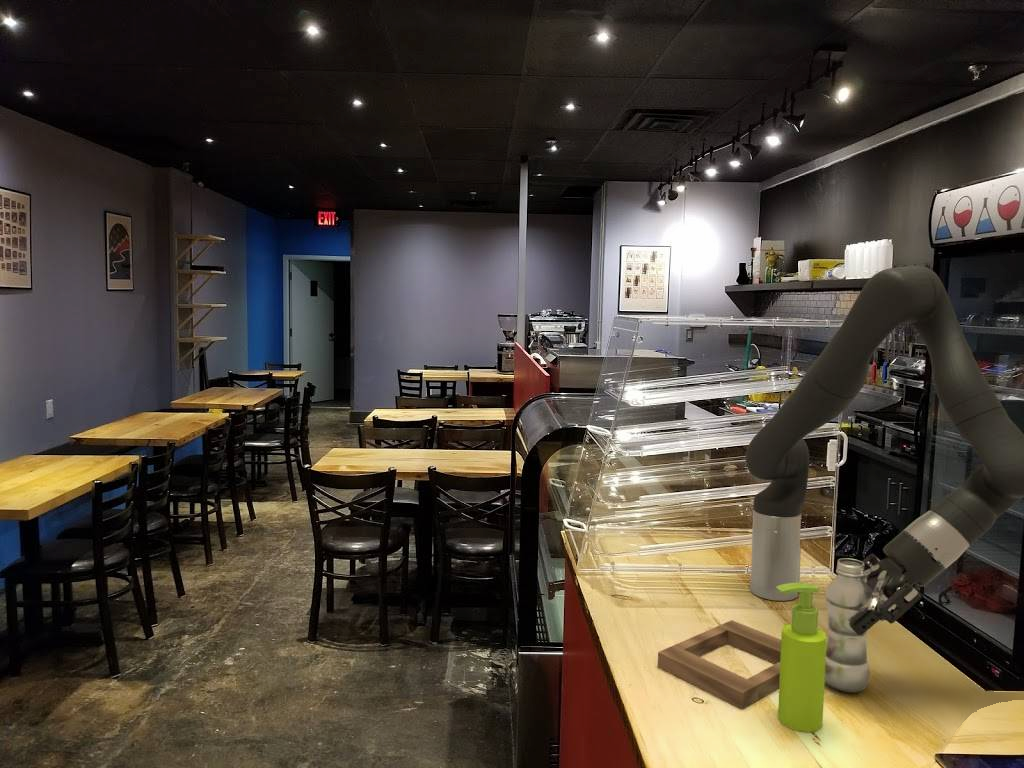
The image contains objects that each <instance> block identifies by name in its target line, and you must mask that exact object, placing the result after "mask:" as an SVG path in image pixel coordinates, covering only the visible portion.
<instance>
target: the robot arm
mask: <svg viewBox="0 0 1024 768" xmlns="http://www.w3.org/2000/svg"><path fill="white" fill-rule="evenodd" d="M949 297H950V296H949V294H948V293H947V290H946V288H945V286H944V284H943V281H941V279H940V277H939V275H938V274H937V273H936V272H935V271H933V270H932V269H930V268H929V267H926V266H923V265H905V266H896V267H891V268H885V269H883V270H880V271H878V272H877V273H875V274H873V275H872V276H871V277H870V278H869V279H868V280H867V282H866V283H865V284H864V285H863V288H862V289H861V291H860V292H859V294H858V295H857V297H856V299H855V301H854V303H853V304H852V306H851V308H850V310H849V312H848V314H846V317H845V319H844V320H843V323H842V324H840V327H839V328H838V330H837V331H836V332H835V334H834V335H833V337H832V338H831V339H830V341H829V342H828V343H827V344H826V346H825V347H824V349H823V350H822V351H821V353H820V354H819V356H818V357H817V358H816V359H815V360H814V362H813V363H812V364H811V366H810V367H809V369H807V371H806V372H805V374H804V376H802V378H801V380H800V381H799V383H798V384H797V386H796V387H795V388H794V390H793V391H792V392H791V394H790V395H789V397H787V399H786V400H785V402H783V404H782V405H781V406H780V407H779V409H778V410H777V412H776V413H775V414H774V415H773V416H772V418H771V419H770V420H769V421H768V422H767V423H766V424H765V425H764V426H763V427H762V428H761V429H760V430H759V431H758V432H757V433H756V434H755V435H754V437H753V438H752V439H751V441H750V442H749V444H748V446H747V449H746V452H745V453H746V454H745V465H746V468H747V470H748V472H749V474H751V475H752V476H753V477H755V478H756V479H759V480H765V481H766V480H767V481H771V482H770V483H769V485H768V486H767V487H766V488H764V489H763V490H762V491H760V492H758V493H757V494H756V495H755V496H754V498H753V506H752V511H753V512H752V531H751V532H752V533H751V534H752V535H751V558H750V559H751V560H750V561H751V562H750V563H751V564H750V579H749V580H750V581H749V582H750V583H749V586H750V587H749V590H750V592H751V593H752V594H753V595H755V596H756V597H759V598H762V599H766V600H771V601H780V602H783V601H784V602H785V601H792V600H794V599H796V598H797V597H798V596H799V592H793V593H788V594H783V593H782V592H781V591H780V590H778V589H777V588H776V586H779V585H783V584H787V583H800V575H801V558H802V557H801V555H802V548H801V546H800V545H801V525H802V524H801V523H802V522H801V521H802V508H803V506H804V503H805V501H806V499H807V489H808V482H809V481H808V480H809V473H810V472H809V471H810V470H809V469H810V451H809V447H808V445H807V443H806V441H805V440H804V438H805V437H806V436H808V435H809V434H811V433H813V432H815V431H816V430H818V429H820V428H822V427H823V426H824V425H826V424H827V423H829V422H831V421H832V420H835V418H837V417H839V415H840V414H842V413H843V412H844V411H845V410H846V409H847V408H848V407H849V406H850V404H851V403H852V401H854V400H855V398H856V397H857V396H858V395H859V394H860V392H861V390H863V387H864V385H865V383H866V382H867V378H868V375H869V368H870V363H871V358H872V357H873V355H874V352H876V350H877V349H878V347H880V345H881V344H882V343H883V342H884V340H886V338H888V336H889V335H890V334H891V333H892V332H893V331H894V330H895V329H897V328H898V327H899V326H901V325H904V324H910V325H911V326H912V327H913V328H914V329H915V331H916V333H917V334H918V335H919V336H920V337H921V340H922V341H923V343H924V345H925V347H926V350H927V352H928V356H929V359H930V363H931V364H930V365H931V371H932V378H933V379H932V380H933V384H934V389H935V392H936V395H937V398H938V401H939V402H940V405H941V406H942V408H943V410H944V411H945V414H946V415H947V416H948V418H949V420H950V422H951V423H952V425H953V426H954V429H955V430H956V432H957V433H958V434H959V436H960V437H961V438H962V439H963V440H964V441H965V442H966V443H969V444H970V445H971V446H972V448H973V449H974V452H975V453H976V454H977V456H978V457H979V459H980V461H981V462H982V464H981V465H980V466H978V468H977V469H975V471H973V473H972V474H971V475H969V476H968V477H967V478H966V480H964V482H962V483H961V485H960V486H959V487H958V488H956V489H954V490H952V491H951V492H950V493H948V494H947V495H946V496H945V497H943V498H942V499H941V500H940V501H939V502H937V503H936V504H935V505H933V507H932V508H931V509H930V510H928V511H926V512H925V513H924V514H922V515H920V516H919V517H918V518H916V519H915V520H914V521H912V522H911V523H910V524H909V525H908V526H907V527H906V528H904V529H903V530H902V531H901V532H900V533H899V534H897V535H896V536H895V537H894V538H893V539H892V540H891V541H889V542H888V543H887V544H886V545H885V546H884V547H883V549H882V551H883V553H884V554H885V556H886V557H884V558H882V559H881V560H880V559H879V558H878V557H877V556H876V555H875V554H874V553H871V554H868V555H867V556H866V557H865V558H863V560H861V561H862V562H863V563H864V572H865V574H864V577H862V579H863V581H864V582H865V584H866V585H867V587H868V588H869V590H870V592H871V595H872V599H873V600H872V602H871V604H870V606H869V609H870V610H869V609H868V608H866V609H865V610H864V611H862V612H861V613H860V614H859V615H858V616H857V617H855V618H854V619H853V620H852V621H851V622H850V623H849V626H850V627H851V628H852V629H853V630H854V631H855V632H856V633H857V634H858V635H862V634H863V633H865V632H866V631H867V632H868V630H870V629H871V628H873V626H874V625H875V624H877V623H878V622H879V621H880V622H885V621H886V622H888V623H889V624H890V625H891V624H894V623H895V622H897V620H898V619H900V618H901V617H902V616H903V615H905V614H906V612H907V611H909V610H910V609H911V608H912V607H913V606H915V604H916V603H918V602H919V600H920V599H921V598H922V595H921V594H920V592H918V590H917V589H915V588H914V584H916V585H917V586H919V587H926V586H927V585H928V584H929V583H931V581H933V580H934V579H936V578H937V577H938V576H939V575H941V574H942V573H943V572H944V571H945V570H946V569H947V568H949V566H951V565H952V564H953V563H954V562H956V561H957V560H958V559H959V558H960V557H961V556H962V555H963V554H964V552H966V550H967V549H968V548H969V547H970V546H971V545H973V544H974V543H975V542H976V541H977V540H979V539H980V538H981V537H982V536H984V535H985V534H986V533H987V532H988V531H989V530H990V529H991V528H992V527H993V526H994V525H995V523H996V521H997V519H998V518H999V517H1000V516H1002V515H1003V513H1005V512H1007V511H1008V510H1009V509H1010V508H1012V506H1014V505H1015V504H1016V503H1018V502H1019V501H1021V500H1022V499H1023V498H1024V432H1022V430H1021V429H1020V427H1018V426H1017V425H1016V424H1015V423H1014V422H1013V420H1012V419H1011V418H1010V417H1009V415H1008V413H1007V411H1006V409H1005V407H1004V406H1003V404H1002V403H1001V401H1000V399H999V398H998V396H997V394H996V393H995V392H994V390H993V388H992V387H991V385H990V383H989V382H988V380H987V378H986V377H985V375H984V374H983V372H982V370H981V368H980V367H979V365H978V362H977V361H976V359H975V357H974V355H973V352H972V350H971V348H970V346H969V344H968V342H967V339H966V336H965V334H964V332H963V330H962V328H961V325H960V322H959V320H958V318H957V315H956V312H955V310H954V308H953V306H952V303H951V300H950V298H949ZM892 610H894V611H893V612H891V611H892Z"/></svg>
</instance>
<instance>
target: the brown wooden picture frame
mask: <svg viewBox="0 0 1024 768" xmlns="http://www.w3.org/2000/svg"><path fill="white" fill-rule="evenodd" d="M725 645H729V646H732V647H733V648H737V649H739V650H741V651H743V652H746V653H748V654H750V655H753V656H755V657H757V658H760V659H761V660H765V662H766V661H767V662H769V663H771V664H773V665H770V666H769V667H767V668H765V669H763V670H762V671H760V672H758V673H756V674H754V675H752V676H750V677H748V678H746V677H743V676H741V675H739V674H737V673H735V672H732V671H730V670H729V669H727V668H724V667H722V666H720V665H719V664H718V665H717V664H715V663H713V662H711V661H709V660H707V659H704V658H703V657H701V656H704V655H706V654H708V653H710V652H712V651H715V650H717V649H718V648H721V647H724V646H725ZM780 659H781V638H778V637H776V636H773V635H770V634H767V633H766V632H763V631H760V630H758V629H755V628H753V627H750V626H747V625H745V624H742V623H740V622H738V621H735V620H733V619H731V620H728V621H727V622H724V623H722V624H719V625H717V626H716V627H713V628H710V629H708V630H706V631H703V632H701V633H699V634H697V635H694V636H691V637H690V638H687V639H685V640H683V641H681V642H678V643H676V644H674V645H671V646H669V647H667V648H664V649H662V650H660V651H658V652H657V668H659V669H661V670H663V671H665V672H667V673H669V674H672V675H673V676H675V675H676V676H675V677H678V678H679V679H681V680H683V681H685V682H687V683H689V684H691V685H693V686H695V687H697V688H699V689H701V690H702V691H703V690H704V691H705V692H707V693H709V694H711V695H712V696H715V697H716V698H719V699H721V700H723V701H726V702H727V703H729V704H731V705H733V706H735V707H736V708H739V709H740V710H744V709H745V708H747V707H750V706H751V705H753V704H754V703H756V702H757V701H760V700H761V699H763V698H764V697H766V696H768V695H770V694H772V693H773V692H775V691H777V690H779V682H780Z"/></svg>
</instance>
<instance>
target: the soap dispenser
mask: <svg viewBox="0 0 1024 768" xmlns="http://www.w3.org/2000/svg"><path fill="white" fill-rule="evenodd" d="M776 588H777V589H778V590H780V591H781V592H782V593H783V594H788V593H793V592H798V597H799V598H798V603H796V604H793V605H792V607H791V623H789V624H788V623H787V624H786V625H784V626H782V627H781V637H780V639H781V659H780V682H779V689H778V706H777V708H778V710H777V717H778V718H777V719H778V720H779V721H780V723H781V724H783V725H784V726H786V727H787V728H789V729H791V730H794V731H797V732H801V733H814V732H817V731H820V730H821V729H822V727H823V718H824V698H825V697H824V696H825V683H826V680H825V662H826V645H827V638H828V634H826V632H825V631H823V630H822V629H820V628H818V620H819V609H818V608H817V607H815V605H813V594H814V593H819V592H820V588H819V587H818V586H816V585H815V584H814V583H809V582H799V583H787V584H783V585H779V586H776Z"/></svg>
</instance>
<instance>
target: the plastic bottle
mask: <svg viewBox="0 0 1024 768" xmlns="http://www.w3.org/2000/svg"><path fill="white" fill-rule="evenodd" d="M862 561H863V560H858V559H855V558H849V557H847V558H845V557H844V558H839V559H837V565H836V570H835V572H836V574H837V576H836V577H834V578H833V579H832V580H831V581H830V583H829V584H828V585H827V587H826V590H825V591H824V593H825V594H824V595H825V602H826V603H825V604H826V606H825V607H826V611H827V643H826V662H825V683H826V684H828V686H830V687H831V688H833V689H835V690H837V691H841V692H845V693H859V692H862V691H864V689H866V688H867V686H868V685H869V680H870V668H869V667H870V666H869V662H868V651H867V648H868V647H867V638H868V637H867V636H868V634H867V633H868V630H867V631H866V632H865V633H863V634H862V635H858V634H857V633H856V632H855V631H854V630H853V629H852V628H851V627H850V626H849V623H850V622H851V621H852V620H853V619H854V618H855V617H857V616H858V615H859V614H860V613H861V612H862V611H864V610H865V609H866V608H868V609H869V606H870V604H871V602H872V600H873V596H872V594H871V592H870V590H869V588H868V587H867V585H866V584H865V582H864V581H863V579H862V577H864V574H865V572H864V563H863V562H862ZM869 610H870V609H869Z"/></svg>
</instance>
